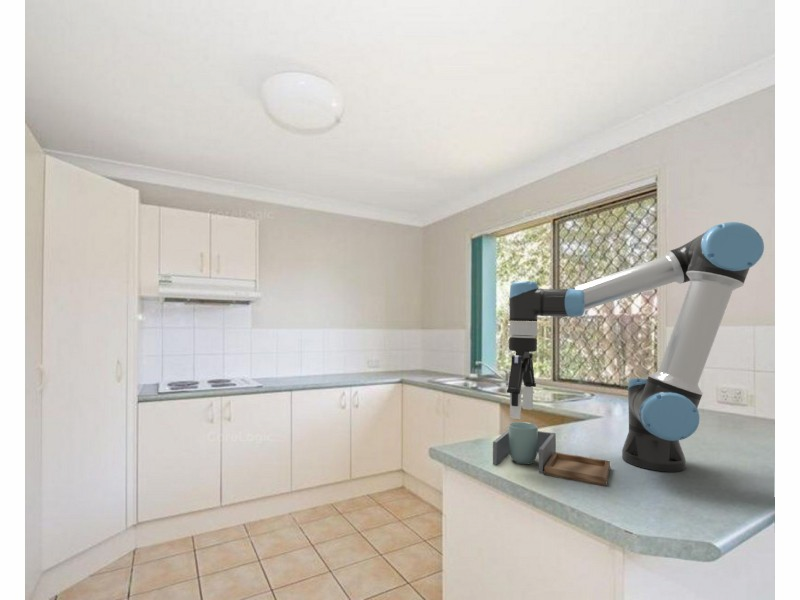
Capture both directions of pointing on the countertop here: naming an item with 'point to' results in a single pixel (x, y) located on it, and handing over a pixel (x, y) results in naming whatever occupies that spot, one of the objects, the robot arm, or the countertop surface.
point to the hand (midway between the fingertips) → (521, 413)
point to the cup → (523, 442)
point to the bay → (544, 448)
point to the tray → (578, 468)
